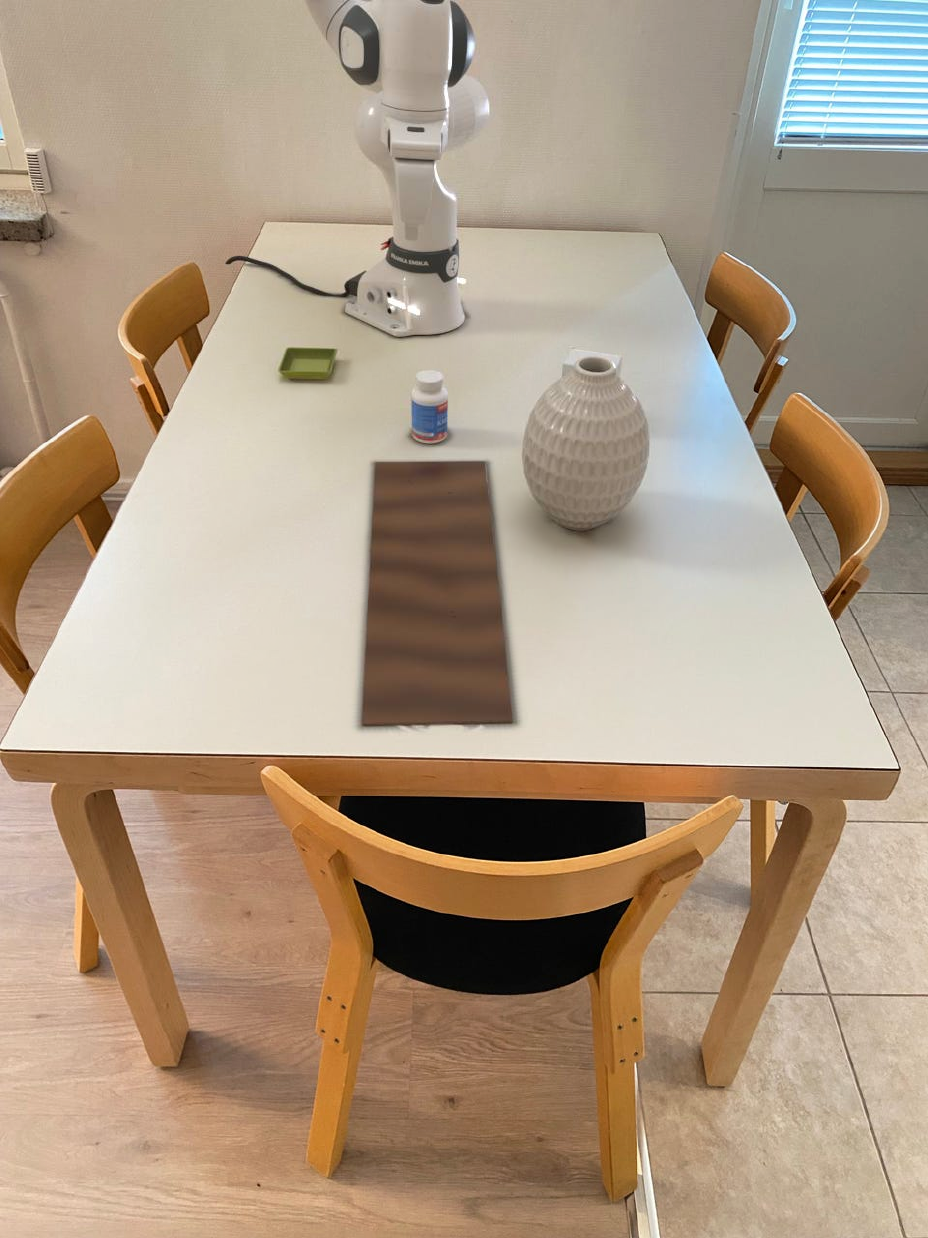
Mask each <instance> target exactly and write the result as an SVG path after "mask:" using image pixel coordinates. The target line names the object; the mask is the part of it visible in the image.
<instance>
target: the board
mask: <svg viewBox="0 0 928 1238" xmlns="http://www.w3.org/2000/svg"><path fill="white" fill-rule="evenodd" d="M370 540H371V541H370V555H369V558H370V559H369V575H368V576H369V577H368V578H369V579H368V592H367V593H368V595H367V615H366V632H365V633H366V634H365V652H364V653H365V654H364V656H365V657H364V669H363V670H364V673H363V687H362V688H363V691H362V692H363V693H362V707H361V708H362V710H361V726H391V725H392V726H393V725H394V726H395V725H396V726H397V725H399V726H400V725H446V724H451V725H452V724H455V725H456V724H500V723H503V724H504V723H513V722H514V718H513V708H512V697H511V689H510V688H511V687H510V679H509V671H508V670H509V669H508V662H507V652H506V643H505V641H506V640H505V633H504V623H503V615H502V614H503V613H502V606H501V605H502V604H501V595H500V586H499V577H498V565H497V557H496V547H495V539H494V530H493V520H492V509H491V501H490V492H489V482H488V472H487V462H486V461H485V460H471V461H470V460H469V461H465V460H463V461H461V460H460V461H459V460H458V461H457V460H456V461H455V460H454V461H453V460H450V461H448V460H447V461H375V462H374V480H373V499H372V517H371V536H370Z"/></svg>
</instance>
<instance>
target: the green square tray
mask: <svg viewBox="0 0 928 1238" xmlns="http://www.w3.org/2000/svg"><path fill="white" fill-rule="evenodd" d="M337 352H338V348H334V347H333V348H330V347H297V346H296V347H293V346H291V347H286V349H285V351H284V352H283V355H282V359H281V361H280V364H279V367H278V370H277V372H278V373H279V374H281V375H282V376H283V377H284V378H286V379H290V380H326V379H327V378H328V377H330V375H331V373H332V371H333V367H334V363H335V360H336V356H337Z"/></svg>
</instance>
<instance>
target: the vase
mask: <svg viewBox="0 0 928 1238" xmlns="http://www.w3.org/2000/svg"><path fill="white" fill-rule="evenodd" d="M650 435H651V434H650V429H649V423H648V420H647V417H646V413H645V410H644V408H643V406H642V403H641V401H640V400H639V398H638V397H637V395H636V394H635V392H634V390H632V389H631V388H630V386H629V385H628V384H627V383H626V382H625V381H624V380H623V379H622V378H621V376H620V377H619V376H618V375H617V373H616V367H615V365H614V363H612V362H611V361H610V360H608V359H605V358H602V357H595V356H591V357H584V358H581V359H579V360H578V361H576V362H575V365H574V368H573V370H571V371H570V372H569V373H567V374H566V375H565V376H563V377H562V376H561V377H560V378H559V379H557V380H556V381H555V382H553V383H552V384H551V385H550V386H548V388H547V389H546V390H545V391H544V392H543V393H542V394H541V395H540V397H539V398H538V400H537V401H536V403H535V404H534V407H533V408H532V410H531V412H530V414H529V416H528V419H527V421H526V424H525V429H524V434H523V439H522V448H521V449H522V450H521V460H522V469H523V474H524V478H525V480H526V484H527V486H528V487H527V488H528V490H529V491H530V493H531V494H532V496H533V498H534V500H535V501H536V503H537V504H538V506H539V507H540V509H542V511H543V512H544V513H545V514H546V515H547V517H549V518H550V519H551V520H553V521H554V522H555V523H557V524H558V526H561V527H562V528H565V529H568V530H573V531H589V530H593V529H596V528H598V527H599V526H601V525H604V524H606V523H608V522H609V521H611V520H612V519H613V518H614V517H615V516H617V515H618V514H619V513H620V512H622V511H623V509H624V508H626V506H628V504H629V503H630V502H631V501H632V500H633V498H634V497H635V495H636V494H637V492H638V490H639V488H640V486H641V484H642V482H643V479H644V477H645V474H646V471H647V468H648V463H649V457H650V442H651V441H650V440H651V437H650Z"/></svg>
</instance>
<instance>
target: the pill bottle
mask: <svg viewBox="0 0 928 1238" xmlns="http://www.w3.org/2000/svg"><path fill="white" fill-rule="evenodd" d="M448 394H449V392H448V390H447V389H446V387H444V375H443V373H442V372H440V371H438V370H433V369H426V370H421V371H418V373H417V374H416V375H415V386H414V387H413V389H412V391H411V395H410V397H411V400H410V403H411V404H410V405H411V436H412V438H413V439H414V440H416V441H417V442H420V443H423V444H437V443H440V442H442V441H444V440H445V439H446V438H447V436H448V419H449V418H448V417H449V416H448V414H449V413H448V408H449V406H448V405H449V395H448Z"/></svg>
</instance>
